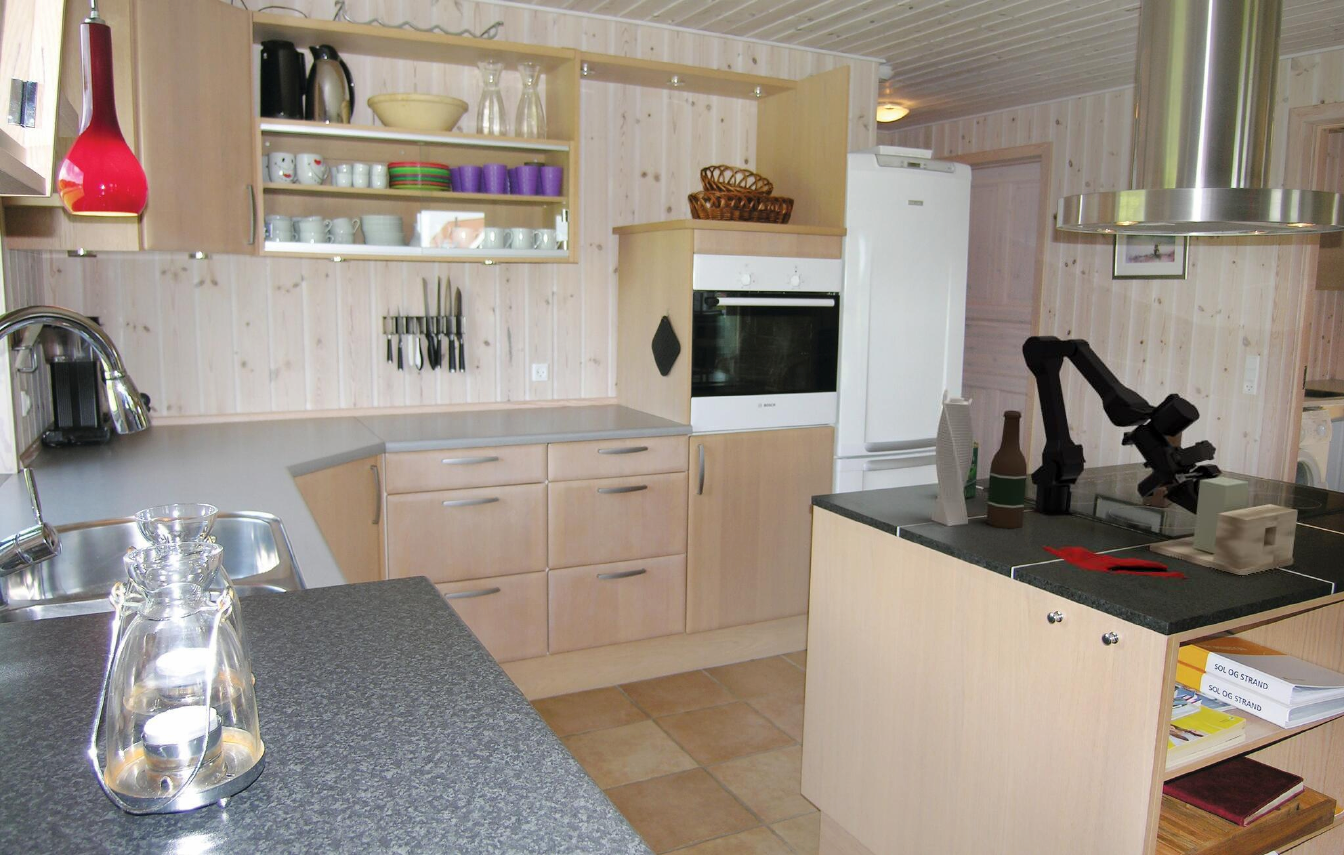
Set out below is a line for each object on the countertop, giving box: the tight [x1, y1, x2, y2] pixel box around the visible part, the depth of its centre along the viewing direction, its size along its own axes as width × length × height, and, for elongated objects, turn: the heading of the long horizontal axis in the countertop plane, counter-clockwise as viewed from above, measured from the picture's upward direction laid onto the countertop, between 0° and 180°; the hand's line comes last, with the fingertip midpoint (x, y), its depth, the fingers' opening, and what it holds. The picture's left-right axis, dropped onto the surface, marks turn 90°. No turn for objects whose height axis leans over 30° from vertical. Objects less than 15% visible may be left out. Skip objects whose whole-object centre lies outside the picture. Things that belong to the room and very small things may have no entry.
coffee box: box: [963, 441, 979, 500], centre depth 222 cm, size 8×3×13 cm, turn 122°
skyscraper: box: [931, 388, 975, 527], centre depth 200 cm, size 8×8×28 cm
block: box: [1193, 476, 1250, 553], centre depth 177 cm, size 9×7×13 cm
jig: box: [1149, 503, 1299, 576], centre depth 178 cm, size 18×16×10 cm
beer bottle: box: [986, 410, 1028, 529], centre depth 199 cm, size 8×8×24 cm
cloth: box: [1042, 546, 1187, 578], centre depth 174 cm, size 26×14×2 cm, turn 34°
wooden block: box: [1143, 432, 1183, 509], centre depth 220 cm, size 9×4×18 cm, turn 138°
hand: (1206, 517), depth 181 cm, fingers closed, pressing on block
